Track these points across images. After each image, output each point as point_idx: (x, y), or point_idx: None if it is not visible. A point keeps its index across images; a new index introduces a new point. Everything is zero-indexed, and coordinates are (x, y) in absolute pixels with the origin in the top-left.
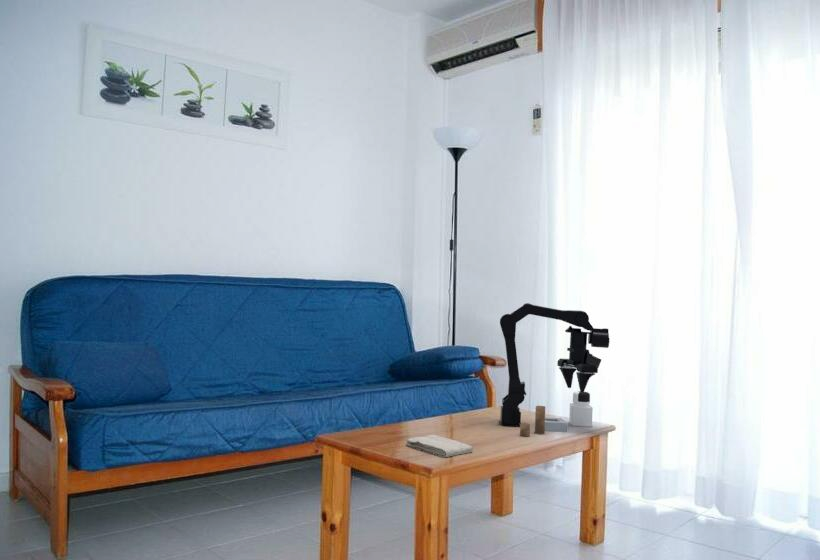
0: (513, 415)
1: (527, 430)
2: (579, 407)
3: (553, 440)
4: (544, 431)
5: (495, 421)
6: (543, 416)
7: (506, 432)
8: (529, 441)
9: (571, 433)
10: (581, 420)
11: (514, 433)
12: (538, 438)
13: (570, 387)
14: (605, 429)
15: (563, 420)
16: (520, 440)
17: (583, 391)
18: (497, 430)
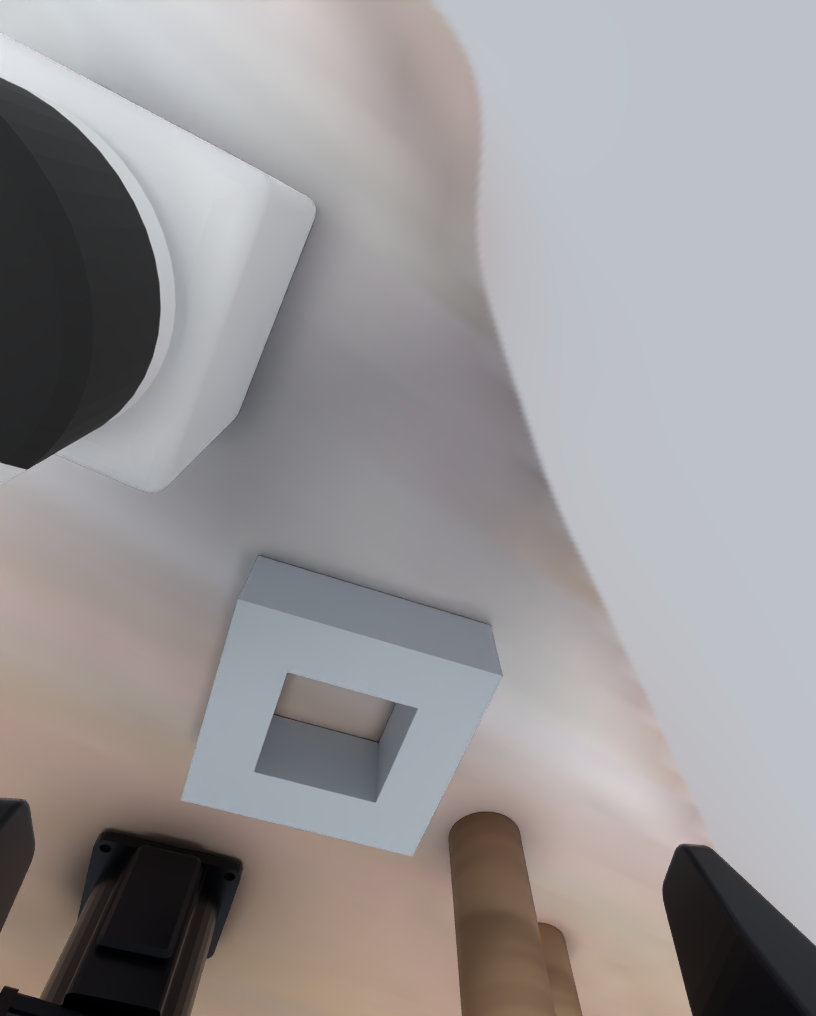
0: (198, 979)
1: (576, 991)
2: (194, 401)
3: None
4: (511, 832)
5: (42, 923)
6: (547, 977)
7: (413, 990)
8: (677, 979)
9: (557, 626)
10: (256, 336)
11: (451, 965)
12: (626, 909)
13: (22, 816)
14: (478, 105)
15: (372, 646)
16: (636, 1005)
17: (717, 866)
18: (348, 1009)
